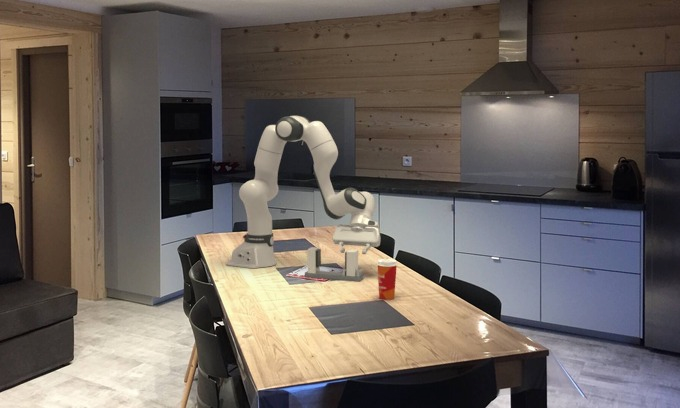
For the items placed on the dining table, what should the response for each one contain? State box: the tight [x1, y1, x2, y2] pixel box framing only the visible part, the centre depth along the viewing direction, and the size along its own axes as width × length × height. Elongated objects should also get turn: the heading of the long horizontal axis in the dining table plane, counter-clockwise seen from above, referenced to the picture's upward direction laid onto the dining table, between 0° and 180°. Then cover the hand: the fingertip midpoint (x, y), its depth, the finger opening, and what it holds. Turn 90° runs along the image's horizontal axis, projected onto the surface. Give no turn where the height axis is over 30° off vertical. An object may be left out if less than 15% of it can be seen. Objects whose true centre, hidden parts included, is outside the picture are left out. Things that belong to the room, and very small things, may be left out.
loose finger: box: [344, 248, 359, 276], centre depth 275 cm, size 4×5×10 cm
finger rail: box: [304, 246, 364, 282], centre depth 278 cm, size 24×5×12 cm, turn 73°
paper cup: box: [376, 258, 398, 301], centre depth 247 cm, size 8×8×14 cm
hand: (352, 252), depth 277 cm, fingers open, 8 cm apart
